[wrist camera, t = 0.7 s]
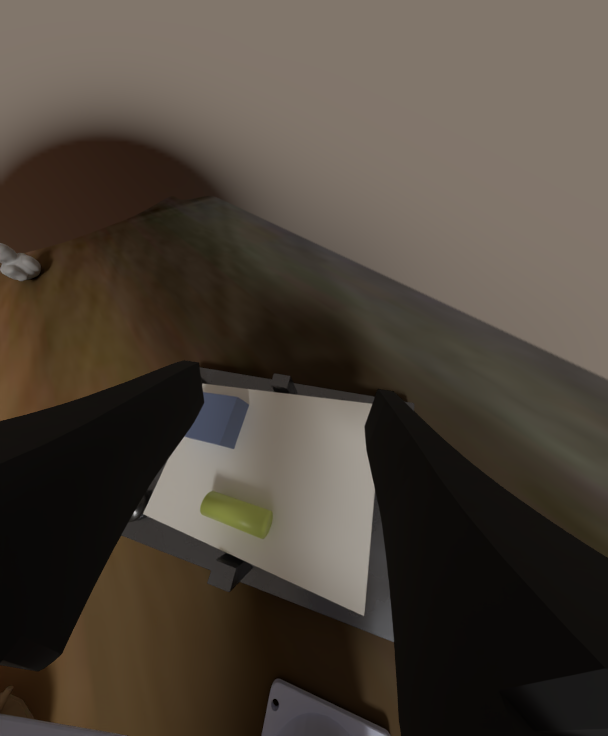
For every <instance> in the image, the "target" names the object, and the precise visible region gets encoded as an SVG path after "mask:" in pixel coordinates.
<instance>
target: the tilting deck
mask: <svg viewBox="0 0 608 736" xmlns="http://www.w3.org/2000/svg"><path fill="white" fill-rule="evenodd" d="M202 388H203V395H204V404H203V406H202V408H201V410H200V412H199V414H198V416H197V418H196V420H195V422H194V423H193V425H192V426H191V428H190V429H189V431H188V432H187V433H186V435H185V436H184V438H183V439H182V441H181V442H180V443H179V445H178V446H177V447H176V449H175V450H174V452H173V453H172V454H171V456H170V457H169V459H168V460H167V463H166V465H165V467H164V469H163V471H162V474H161V476H160V478H159V480H158V482H157V484H156V487H155V489H154V491H153V493H152V495H151V498H150V500H149V502H148V504H147V506H146V508H145V511H144V513H143V514H144V515H146V516H148V517H150V518H153V519H155V520H157V521H159V522H161V523H163V524H166V525H168V526H170V527H172V528H174V529H176V530H179V531H181V532H183V533H185V534H187V535H189V536H192V537H194V538H196V539H198V540H200V541H202V542H205V543H207V544H209V545H211V546H213V547H215V548H218V549H220V550H222V551H224V552H226V553H228V554H231V555H233V556H235V557H237V558H239V559H241V560H244V561H246V562H248V563H250V564H252V565H254V566H257V567H259V568H261V569H263V570H265V571H267V572H269V573H272V574H274V575H276V576H278V577H280V578H282V579H285V580H287V581H289V582H291V583H293V584H295V585H298V586H300V587H302V588H304V589H306V590H308V591H311V592H313V593H315V594H317V595H319V596H321V597H324V598H326V599H328V600H330V601H332V602H334V603H337V604H339V605H341V606H343V607H345V608H347V609H350V610H352V611H354V612H356V613H358V614H360V615H363V616H364V613H365V604H366V592H367V580H368V568H369V556H370V544H371V532H372V520H373V509H374V497H375V487H374V483H373V478H372V474H371V469H370V465H369V460H368V455H367V451H366V441H365V429H364V426H365V423H366V420H367V418H368V415H369V412H370V409H371V406H372V404H370V403H361V402H353V401H345V400H336V399H328V398H319V397H311V396H303V395H294V394H286V393H277V392H269V391H261V390H252V389H244V388H236V387H227V386H219V385H210V384H202Z"/></svg>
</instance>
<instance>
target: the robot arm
mask: <svg viewBox="0 0 608 736" xmlns="http://www.w3.org/2000/svg"><path fill="white" fill-rule="evenodd" d="M203 404H204V395H203V388H202V381H201V374H200V367H199V363H198V362H191V361H185V360H184V361H180V362H177V363H174V364H171V365H169V366H166V367H163V368H161V369H158V370H156V371H153V372H150V373H148V374H145V375H143V376H140V377H138V378H135V379H133V380H130V381H127V382H125V383H122V384H119V385H117V386H114V387H111V388H108V389H106V390H103V391H100V392H97V393H94V394H92V395H89V396H86V397H83V398H80V399H77V400H74V401H71V402H68V403H64V404H61V405H58V406H54V407H51V408H48V409H44V410H41V411H38V412H34V413H30V414H27V415H23V416H19V417H15V418H11V419H7V420H3V421H0V665H3V666H9V667H15V668H21V669H27V670H33V671H40V670H42V669H44V668H45V667H47V666H48V665H49V664H51V663H52V662H53V661H55V660H56V659H57V658H58V657H59V656H60V655H61V654H62V653H63V650H64V648H65V646H66V644H67V642H68V640H69V637H70V635H71V633H72V631H73V629H74V627H75V625H76V623H77V621H78V619H79V617H80V615H81V612H82V610H83V608H84V606H85V604H86V602H87V600H88V598H89V596H90V594H91V592H92V590H93V588H94V586H95V584H96V582H97V580H98V578H99V576H100V574H101V572H102V570H103V568H104V567H105V565H106V563H107V561H108V559H109V557H110V555H111V553H112V551H113V549H114V547H115V545H116V544H117V542H118V540H119V538H120V536H121V535H122V533H123V531H124V529H125V527H126V526H127V524H128V522H129V520H130V518H131V517H132V515H133V513H134V511H135V510H136V508H137V506H138V505H139V503H140V501H141V499H142V498H143V496H144V494H145V493H146V491H147V489H148V488H149V486H150V484H151V483H152V481H153V480H154V478H155V477H156V475H157V474H158V472H159V471H160V470H161V468H162V467H163V465H164V464H165V463H166V461H167V460H168V459H169V457H170V456H171V454H172V453H173V452H174V450H175V449H176V447H177V446H178V445H179V443H180V442H181V441H182V439H183V438H184V436H185V435H186V433H187V432H188V431H189V429H190V428H191V426H192V425H193V423H194V422H195V420H196V418H197V416H198V414H199V412H200V410H201V408H202V406H203ZM364 429H365V441H366V451H367V455H368V460H369V465H370V469H371V474H372V478H373V483H374V487H375V492H376V496H377V501H378V505H379V510H380V516H381V521H382V529H383V537H384V545H385V552H386V561H387V571H388V580H389V589H390V600H391V611H392V623H393V634H394V648H395V663H396V678H397V694H398V713H399V724H400V731H401V736H608V558H607V557H605V556H604V555H602V554H601V553H599V552H597V551H596V550H594V549H593V548H591V547H589V546H588V545H586V544H585V543H583V542H582V541H580V540H578V539H577V538H575V537H574V536H572V535H571V534H569V533H568V532H566V531H565V530H563V529H562V528H560V527H559V526H557V525H556V524H554V523H553V522H551V521H550V520H548V519H547V518H545V517H544V516H542V515H541V514H540V513H538V512H537V511H535V510H534V509H532V508H531V507H530V506H528V505H527V504H525V503H524V502H522V501H521V500H520V499H518V498H517V497H515V496H514V495H513V494H511V493H510V492H508V491H507V490H506V489H504V488H503V487H502V486H500V485H499V484H498V483H496V482H495V481H494V480H492V479H491V478H490V477H489V476H487V475H486V474H485V473H483V472H482V471H481V470H480V469H478V468H477V467H476V466H474V465H473V464H472V463H471V462H470V461H468V460H467V459H466V458H465V457H464V456H462V455H461V454H460V453H459V452H458V451H457V450H455V449H454V448H453V447H452V446H451V445H450V444H449V443H447V442H446V441H445V440H444V439H443V438H442V437H441V436H440V435H439V434H437V433H436V432H435V431H434V430H433V429H432V428H431V427H430V426H429V425H428V424H427V423H426V422H425V421H424V420H423V419H422V418H421V417H420V416H419V415H418V414H417V413H415V412H414V411H413V410H412V409H411V408H410V407H409V406H408V405H407V404H406V403H405V402H404V401H403V400H402V399H401V398H400V397H399V396H398V395H397V394H396V393H394V392H393V391H388V390H381V389H378V390H377V392H376V395H375V398H374V401H373V404H372V406H371V409H370V412H369V415H368V418H367V420H366V423H365V426H364ZM273 699H277V700H278V702H279V705H278V706H275V705H274V704H273ZM0 736H127V735H121V734H116V733H110V732H104V731H98V730H92V729H87V728H81V727H75V726H69V725H64V724H58V723H52V722H46V721H40V720H35V719H29V718H23V717H17V716H12V715H6V714H0ZM262 736H390V734H389V732H388V731H387V730H386V729H384V728H382V727H380V726H378V725H376V724H374V723H372V722H370V721H367V720H365V719H363V718H361V717H359V716H357V715H355V714H353V713H351V712H349V711H346V710H344V709H342V708H340V707H338V706H336V705H334V704H332V703H330V702H328V701H326V700H323V699H321V698H319V697H317V696H315V695H313V694H311V693H309V692H307V691H305V690H302V689H300V688H298V687H296V686H294V685H292V684H290V683H288V682H286V681H284V680H281V679H275V680H274V682H273V683H272V686H271V690H270V695H269V700H268V705H267V710H266V715H265V720H264V725H263V730H262Z"/></svg>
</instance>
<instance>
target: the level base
mask: <svg viewBox="0 0 608 736" xmlns="http://www.w3.org/2000/svg"><path fill="white" fill-rule="evenodd" d="M200 374H201V381H202V384H210V385H219V386H227V387H236V388H244V389H252V390H261V391H269V392H277V393H286V394H294V395H303V396H311V397H319V398H328V399H336V400H345V401H353V402H361V403H370V404H373V401H374V398H375V397H373V396H367V395H362V394H356V393H350V392H344V391H338V390H332V389H326V388H320V387H314V386H308V385H302V384H296V383H293V381H292V379H291V376H287V375H281V374H275V373H274V375H273V378H272V379H266V378H260V377H254V376H248V375H242V374H236V373H230V372H225V371H219V370H213V369H207V368H201V367H200ZM405 403H406V404H407V405H408V406H409V407H410V408H411V409H412V410H413V411H414V403H409V402H405ZM166 463H167V461H166ZM166 463H165V464H164V465H163V467H162V468H161V470H160V471H159V472H158V474H157V475H156V477H155V478H154V480H153V481H152V483H151V484H150V486H149V488H148V489H147V491H146V493H145V494H144V496H143V498H142V499H141V501H140V503H139V505H138V506H137V508H136V510H135V511H134V513H133V515H132V517H131V518H130V520H129V522H128V524H127V526H126V527H125V529H124V531H123V533H122V536H125V537H127V538H130V539H132V540H135V541H137V542H140V543H142V544H145V545H147V546H150V547H153V548H155V549H158V550H160V551H163V552H165V553H168V554H170V555H173V556H175V557H178V558H181V559H183V560H186V561H188V562H191V563H193V564H196V565H198V566H201V567H204V568H206V569H209V570H211V573H210V576H209V579H208V584H210V585H213V586H215V587H218V588H220V589H223V590H225V591H228V592H230V591H231V590H232V589H233V588H234V587H235V586H236V585H237V584H238V583H239V582H242V583H244V584H247V585H249V586H252V587H255V588H257V589H260V590H262V591H265V592H267V593H270V594H272V595H275V596H277V597H280V598H283V599H285V600H288V601H290V602H293V603H295V604H298V605H300V606H303V607H306V608H308V609H311V610H313V611H316V612H318V613H321V614H323V615H326V616H328V617H331V618H334V619H336V620H339V621H341V622H344V623H346V624H349V625H351V626H354V627H356V628H359V629H362V630H364V631H367V632H369V633H372V634H374V635H377V636H379V637H382V638H385V639H387V640H390V641H392V642H394V634H393V623H392V611H391V600H390V589H389V580H388V571H387V561H386V552H385V545H384V537H383V529H382V521H381V516H380V510H379V505H378V501H377V496H376V492H375V497H374V509H373V520H372V532H371V544H370V556H369V568H368V580H367V592H366V604H365V613H364V616H363V615H360V614H358V613H356V612H354V611H352V610H350V609H347V608H345V607H343V606H341V605H339V604H337V603H334V602H332V601H330V600H328V599H326V598H324V597H321V596H319V595H317V594H315V593H313V592H311V591H308V590H306V589H304V588H302V587H300V586H298V585H295V584H293V583H291V582H289V581H287V580H285V579H282V578H280V577H278V576H276V575H274V574H272V573H269V572H267V571H265V570H263V569H261V568H259V567H257V566H254V565H252V564H250V563H248V562H246V561H244V560H241V559H239V558H237V557H235V556H233V555H231V554H228V553H226V552H224V551H222V550H220V549H218V548H215V547H213V546H211V545H209V544H207V543H205V542H202V541H200V540H198V539H196V538H194V537H192V536H189V535H187V534H185V533H183V532H181V531H179V530H176V529H174V528H172V527H170V526H168V525H166V524H163V523H161V522H159V521H157V520H155V519H153V518H150V517H148V516H146V515H144V514H143V513H144V511H145V508H146V506H147V504H148V502H149V500H150V498H151V495H152V493H153V491H154V489H155V487H156V484H157V482H158V480H159V478H160V476H161V474H162V471H163V469H164V467H165V465H166Z"/></svg>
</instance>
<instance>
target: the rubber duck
mask: <svg viewBox="0 0 608 736" xmlns="http://www.w3.org/2000/svg"><path fill="white" fill-rule="evenodd" d="M0 263H2V265H1V268H0V270H1V272H2V273H3V274H4V275H6V276H8V277H10V278H12V279H15V280H19V281H24V280H28V279H32V278H34V277H37V276H38V275H39V274H40V272H41V265H40V263H39V262H38V261H37V260H36V259H34V258H33V257H30V256H27V255H26V254H23V253H17V254H16V253H15V251H14V250H13V249H11V248H10V247H8V246H7V245H5V244H2V243H0Z"/></svg>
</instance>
